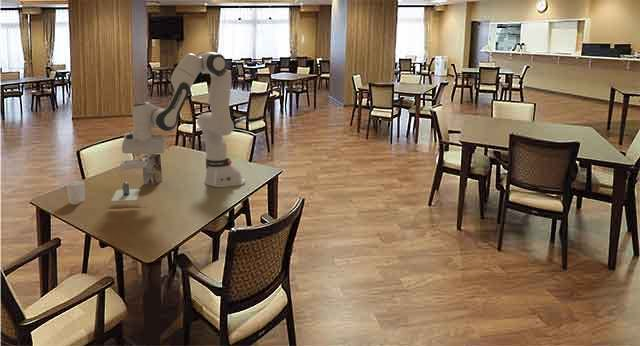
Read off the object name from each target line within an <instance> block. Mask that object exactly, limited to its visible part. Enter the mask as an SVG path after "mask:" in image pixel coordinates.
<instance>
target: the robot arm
mask: <svg viewBox="0 0 640 346" xmlns="http://www.w3.org/2000/svg"><path fill="white" fill-rule="evenodd" d="M200 73H205V74H209V75H210V86H209V92H208V103H209V106H210V111H211V112H204V113H201V114H200V115H199V116H198V118H197V124H198V127H199V128H200V130H201V132H202V133H201V134H202V136H203V139H204V142H205V154H206V158H205V168H206V171H205V173H206V174H205V179H204V185H206V186H208V187H209V186H210V187H214V188H224V187H233V186H234V187H235V186H244V185H245V183H246V179H245V178H244V177H242V175H241V171H240V170H239V169H238V168H237V167H235V166H234V165H232V160H231V158H230V157H227V156H228V155H227V150H228V149H227V143H226V141H225V140H224V138H223V136H224V137H225V136H228V135H229V136H230V135H231V133H232V132H233V131H234V128H235V124H234V122H233V120H232V118H231V112H230V98H231V90H232V73H231V71H230V70H229V69H228V66H227V60H226V58H225V57H224V55H222V54H220V53H218V52H213V51H208V52H206V51H205V52H204V51H203V52H202V51H201V52H199V53H198V54H194V53H187V54H186V55H184V56H183V58H182V59H181V60H180V61H179V63H178V64H177V66H176V67H175V69H174V71H173V72H172V74H171V78H170V83H171V85H172V88H173V89H174V91H173V95H172V98H171V100H170V101H169V104H168V105H167V107H165V108H163V107H158V106H156V105H154V104H152V103H150V102H149V101H138V102H137V103H135V104H134V105H133V107H132V122H133V129H132V130H131V131H129V132H126V133H124V135H123V140H122V145H121V152H122V154H136V157H137V159H139V161H142V159H143V158H142V157H141V156H140V155H141V154H147V155H149V156H148V158H146V162H149V158H150V156H151V154H163V153H165V151H166V150H165V143H166V137H165V136H164V135H163V134H153V127H156V128H159V129H160V130H161V131H165V132H170V131H173V130H174V129H175V128H176V127H177V125H178V122H179V116H180V113H181V111H182V108H183V107H184V105H185V103H186V101H187V99H188V96H189V94H190V91H191V88H192V86H193V85H194V82H195V81H196V79H197V77H198V76H199V74H200Z"/></svg>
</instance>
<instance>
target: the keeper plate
mask: <svg viewBox="0 0 640 346" xmlns="http://www.w3.org/2000/svg"><path fill="white" fill-rule="evenodd" d="M141 189H142V188H129V195H127V196H124V195H123V189H117V190H116V191H115V192H114V194H113V196H112V198H111V200H110V202H116V201H117V202H118V201H137V200H138V197H139V194H140V192H141Z"/></svg>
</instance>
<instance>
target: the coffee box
mask: <svg viewBox="0 0 640 346" xmlns="http://www.w3.org/2000/svg"><path fill="white" fill-rule="evenodd" d="M148 156H149V155H148V154H147V155H144V156H142V157H141V158H145V157H146V158H148ZM161 161H162V160H161V153H151V156H150V158H149V162H148V163H147V165H146V167H141V168H142V177H143V184H144V185H156V184H158V183H163V176H162V175H163V174H162V164H161V163H162V162H161Z"/></svg>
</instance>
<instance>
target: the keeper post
mask: <svg viewBox="0 0 640 346" xmlns="http://www.w3.org/2000/svg"><path fill="white" fill-rule="evenodd" d="M121 187H122V190H123V195H124V196H127V195H129V189H130V183H128V182H127V181H126V182H123V183H122V186H121Z"/></svg>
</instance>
